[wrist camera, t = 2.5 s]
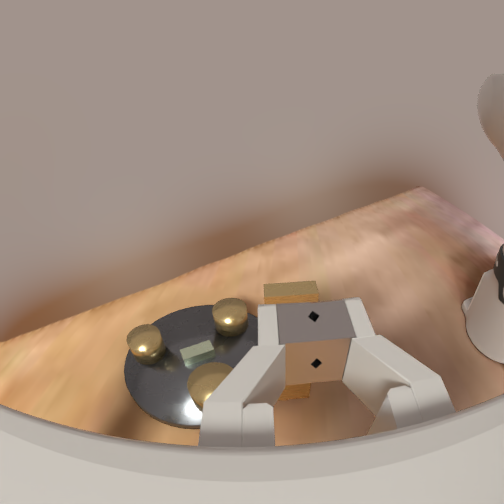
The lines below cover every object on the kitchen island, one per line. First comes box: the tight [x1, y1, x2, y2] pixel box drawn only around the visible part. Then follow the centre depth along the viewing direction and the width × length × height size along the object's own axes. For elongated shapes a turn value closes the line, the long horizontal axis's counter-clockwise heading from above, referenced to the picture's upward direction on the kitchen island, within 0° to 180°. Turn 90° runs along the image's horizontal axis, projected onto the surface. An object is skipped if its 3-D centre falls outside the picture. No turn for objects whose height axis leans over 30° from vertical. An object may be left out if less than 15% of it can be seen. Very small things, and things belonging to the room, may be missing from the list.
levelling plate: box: [124, 298, 258, 429], centre depth 40 cm, size 22×22×4 cm
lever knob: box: [187, 281, 319, 412], centre depth 30 cm, size 14×6×16 cm, turn 90°
